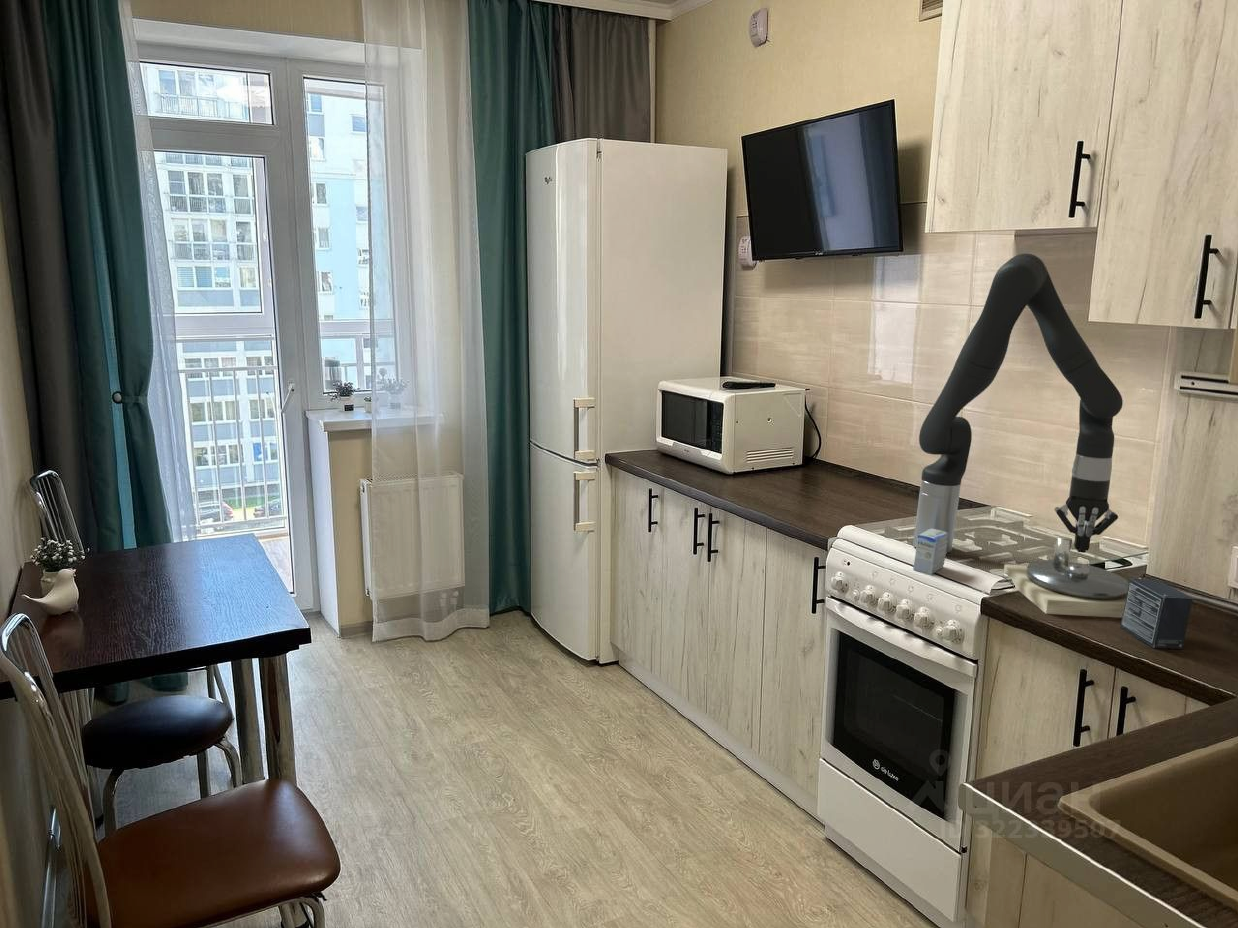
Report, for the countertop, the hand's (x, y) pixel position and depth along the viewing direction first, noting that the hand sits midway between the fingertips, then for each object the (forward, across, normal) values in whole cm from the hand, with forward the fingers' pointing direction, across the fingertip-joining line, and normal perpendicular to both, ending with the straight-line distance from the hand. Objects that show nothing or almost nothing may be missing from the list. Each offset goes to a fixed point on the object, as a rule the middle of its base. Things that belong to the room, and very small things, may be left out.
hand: (1081, 551), depth 202 cm
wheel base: (+8, -2, -8) cm, 11 cm away
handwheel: (+5, -2, -8) cm, 9 cm away
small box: (+9, +8, -27) cm, 29 cm away
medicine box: (+8, -32, -1) cm, 32 cm away
